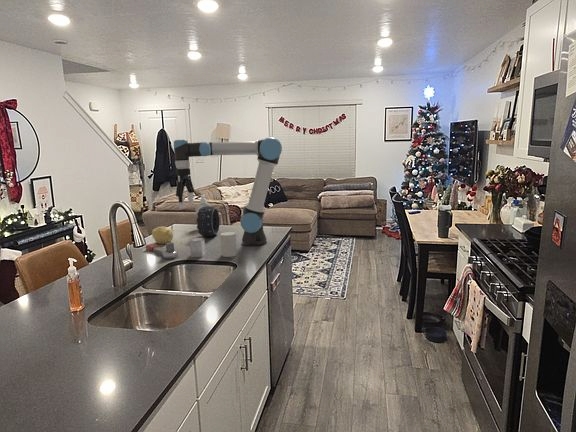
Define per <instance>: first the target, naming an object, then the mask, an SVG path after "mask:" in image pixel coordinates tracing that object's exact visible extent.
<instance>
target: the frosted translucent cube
mask: <svg viewBox="0 0 576 432" xmlns="http://www.w3.org/2000/svg"><path fill="white" fill-rule="evenodd" d="M205 245H206V244H205V238H204V237H194V238H193V237H192V238H191V239H190V240H189V252H190V254H189V255H190V258H203V257H204V256H205V254H206V246H205Z"/></svg>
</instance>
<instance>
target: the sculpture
mask: <svg viewBox="0 0 576 432" xmlns="http://www.w3.org/2000/svg"><path fill="white" fill-rule="evenodd" d="M151 235H152V238H153V239H154V241H155V243H157V244H158V245H166V244H165V243H169V242H172V241H173V238H174V233H173V230H172V229H171V228H170V227H168V226H163V225H162V226H160V225H159V226H158V227H156V228H153V229H152V231H151Z"/></svg>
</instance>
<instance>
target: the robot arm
mask: <svg viewBox="0 0 576 432" xmlns="http://www.w3.org/2000/svg"><path fill="white" fill-rule="evenodd" d="M173 151H174V152H173V153H174V161H175V162H174V164H175V168H176V169H175V172H176V176H177V178H176V192H175V196H176V197H177V198H178V199H177V200H178V206H179V209H185V207H186V206H185V198H184V196H183V195H184V191H185V188H186V190H187V199H188V204H189V205H194V204H195V202H194V193H195V188H194V185H193V182H192V176H191V174H192V173H191V165H190V158H194V157H209V156H244V155H245V156H251V155H252V156H257V158H256V159H257V161H258V165H257V170H256V174H255V177H254V181H253V184H252V188H251V193H250V196H249V200H248V203H247V204H246V205H244V206H243V207H242V216H241V217H240V227H241V228H242V230H243V235H242V239H241V244H242V245H243V246H247V247H255V246H256V247H257V246H262V245H265V244H267V243H268V239H267V236H266V233H265V231H264V215H265V209H264V205H265V202H266V198H267V193H268V191H269V186H270V183H271V179H272V176H273V172H274V168H275V167H277V166H278V165H279V160H280V157H281V154H282V152H283V146H282V143H281V142H280V140H278V139H277V138H275V137H271V136H269V137H266V138H264V139H257V140H256V141H255V140H254V141H211V142H209V141H208V142H206V141H202V142H189V141H188V140H187V139H176V140H174V141H173Z"/></svg>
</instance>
